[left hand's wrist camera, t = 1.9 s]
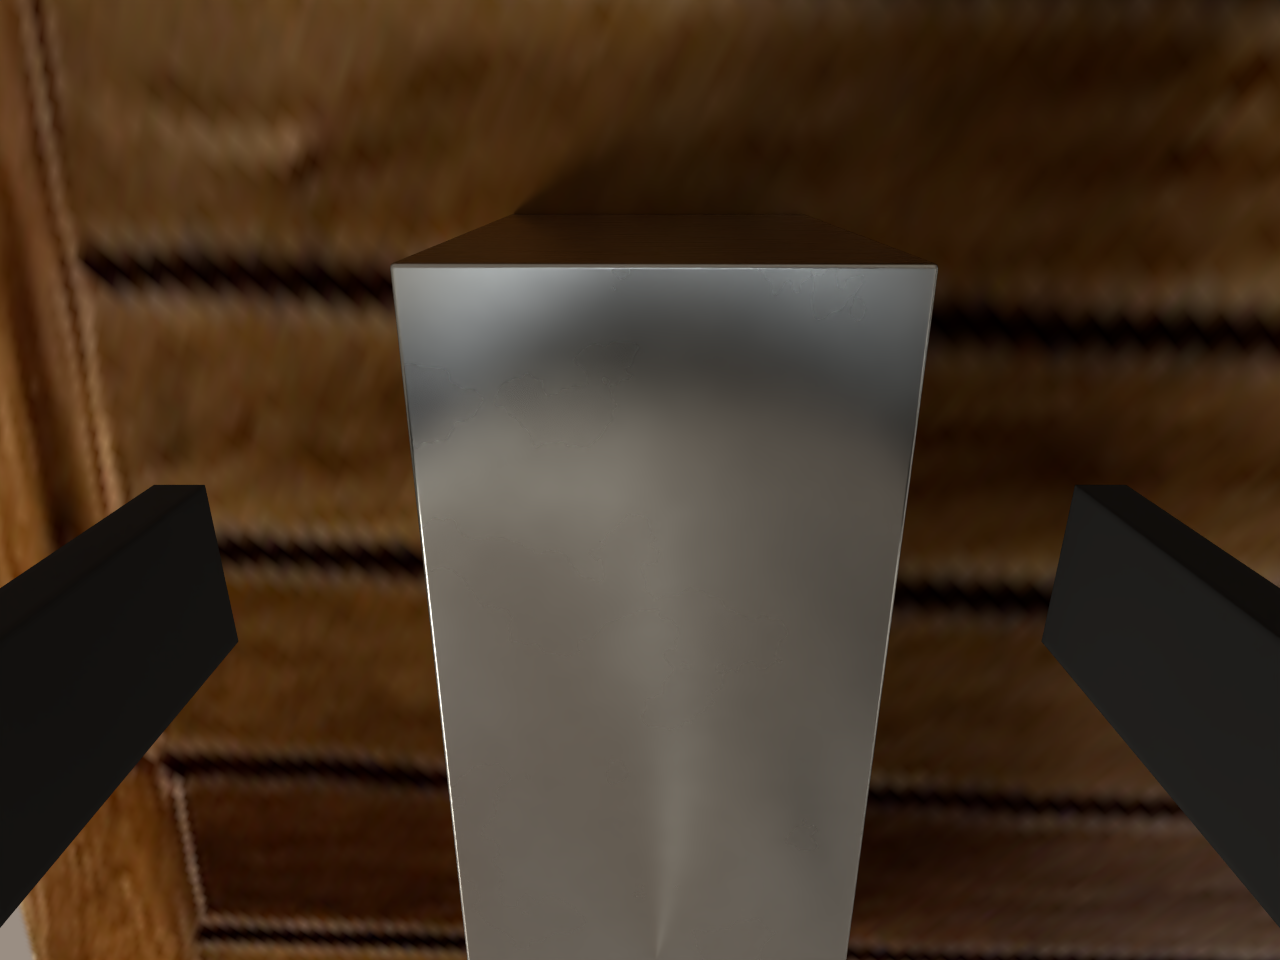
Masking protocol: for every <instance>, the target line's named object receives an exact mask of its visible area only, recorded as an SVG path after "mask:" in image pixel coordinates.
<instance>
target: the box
mask: <svg viewBox="0 0 1280 960" xmlns="http://www.w3.org/2000/svg"><path fill="white" fill-rule="evenodd" d="M390 270H391V279H392V288H393V297H394V306H395V315H396V323H397V332H398V341H399V350H400V359H401V368H402V377H403V386H404V395H405V404H406V413H407V422H408V431H409V440H410V449H411V458H412V467H413V476H414V485H415V494H416V503H417V512H418V521H419V530H420V539H421V547H422V556H423V565H424V574H425V583H426V592H427V601H428V610H429V619H430V628H431V637H432V646H433V655H434V664H435V673H436V682H437V691H438V700H439V709H440V718H441V727H442V736H443V745H444V754H445V763H446V771H447V780H448V789H449V798H450V807H451V816H452V825H453V834H454V843H455V852H456V861H457V870H458V879H459V888H460V897H461V906H462V915H463V924H464V933H465V942H466V951H467V960H846V957H847V949H848V942H849V934H850V927H851V919H852V912H853V904H854V897H855V889H856V882H857V874H858V867H859V859H860V852H861V844H862V837H863V829H864V822H865V814H866V807H867V799H868V792H869V784H870V777H871V769H872V762H873V754H874V747H875V739H876V732H877V724H878V717H879V709H880V702H881V694H882V687H883V679H884V672H885V664H886V657H887V649H888V642H889V634H890V627H891V619H892V612H893V604H894V597H895V589H896V582H897V574H898V567H899V559H900V552H901V544H902V537H903V529H904V522H905V514H906V507H907V499H908V492H909V484H910V477H911V469H912V462H913V454H914V447H915V439H916V432H917V424H918V417H919V409H920V402H921V394H922V387H923V379H924V372H925V364H926V357H927V349H928V342H929V334H930V327H931V319H932V312H933V304H934V297H935V289H936V282H937V274H938V266H937V264H934V263H932V262H929V261H927V260H924V259H921V258H919V257H916V256H913V255H911V254H908V253H905V252H903V251H900V250H897V249H895V248H892V247H889V246H887V245H884V244H881V243H879V242H876V241H873V240H871V239H868V238H865V237H863V236H860V235H857V234H855V233H852V232H849V231H847V230H844V229H841V228H839V227H836V226H833V225H831V224H828V223H825V222H823V221H820V220H817V219H815V218H812V217H809V216H807V215H738V214H512V215H509V216H507V217H504V218H502V219H499V220H497V221H495V222H492V223H490V224H487V225H485V226H482V227H480V228H477V229H475V230H473V231H470V232H468V233H465V234H463V235H460V236H458V237H455V238H453V239H451V240H448V241H446V242H443V243H441V244H438V245H436V246H433V247H431V248H429V249H426V250H424V251H421V252H419V253H416V254H414V255H412V256H409V257H407V258H404V259H402V260H399V261H397V262H394V263H392V264H391V267H390Z"/></svg>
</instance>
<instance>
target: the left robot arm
mask: <svg viewBox="0 0 1280 960" xmlns="http://www.w3.org/2000/svg"><path fill="white" fill-rule="evenodd" d="M237 642H238V637H237V633H236V628H235V624H234V619H233V614H232V610H231V605H230V600H229V596H228V591H227V586H226V582H225V577H224V572H223V568H222V563H221V558H220V554H219V549H218V544H217V540H216V535H215V530H214V526H213V521H212V516H211V512H210V507H209V502H208V498H207V493H206V488H205V485H153V486H152V487H150V488H149V489H147V490H146V491H144V492H143V493H141V494H140V495H138V496H137V497H135V498H134V499H132V500H131V501H129V502H128V503H126V504H125V505H123V506H122V507H120V508H119V509H117V510H116V511H115V512H113V513H112V514H110V515H109V516H107V517H106V518H104V519H103V520H101V521H100V522H98V523H97V524H95V525H94V526H92V527H91V528H89V529H88V530H86V531H85V532H83V533H82V534H80V535H79V536H77V537H76V538H74V539H73V540H71V541H70V542H68V543H67V544H65V545H64V546H62V547H61V548H59V549H58V550H56V551H55V552H53V553H52V554H50V555H49V556H48V557H46V558H45V559H43V560H42V561H40V562H39V563H37V564H36V565H34V566H33V567H31V568H30V569H28V570H27V571H25V572H24V573H22V574H21V575H19V576H18V577H16V578H15V579H13V580H12V581H10V582H9V583H7V584H6V585H4V586H3V587H1V588H0V927H1V926H2V925H3V924H4V923H5V921H6V920H7V919H8V918H9V917H10V915H11V914H12V913H13V912H14V911H15V909H16V908H17V907H18V906H19V905H20V903H21V902H22V901H23V900H24V899H25V897H26V896H27V895H28V894H29V892H30V891H31V890H32V889H33V888H34V886H35V885H36V884H37V883H38V882H39V880H40V879H41V878H42V877H43V876H44V874H45V873H46V872H47V871H48V870H49V868H50V867H51V866H52V865H53V864H54V862H55V861H56V860H57V859H58V858H59V856H60V855H61V854H62V853H63V852H64V850H65V849H66V848H67V847H68V846H69V844H70V843H71V842H72V841H73V840H74V838H75V837H76V836H77V835H78V834H79V832H80V831H81V830H82V829H83V828H84V826H85V825H86V824H87V823H88V822H89V820H90V819H91V818H92V817H93V816H94V814H95V813H96V812H97V811H98V810H99V808H100V807H101V806H102V805H103V804H104V802H105V801H106V800H107V799H108V798H109V796H110V795H111V794H112V793H113V791H114V790H115V789H116V788H117V787H118V785H119V784H120V783H121V782H122V781H123V779H124V778H125V777H126V776H127V775H128V773H129V772H130V771H131V770H132V769H133V767H134V766H135V765H136V764H137V763H138V761H139V760H140V759H141V758H142V757H143V755H144V754H145V753H146V752H147V751H148V749H149V748H150V747H151V746H152V745H153V743H154V742H155V741H156V740H157V739H158V737H159V736H160V735H161V734H162V733H163V731H164V730H165V729H166V728H167V727H168V725H169V724H170V723H171V722H172V721H173V719H174V718H175V717H176V716H177V715H178V713H179V712H180V711H181V710H182V709H183V707H184V706H185V705H186V704H187V703H188V701H189V700H190V699H191V698H192V697H193V695H194V694H195V693H196V692H197V690H198V689H199V688H200V687H201V686H202V684H203V683H204V682H205V681H206V680H207V678H208V677H209V676H210V675H211V674H212V672H213V671H214V670H215V669H216V668H217V666H218V665H219V664H220V663H221V662H222V660H223V659H224V658H225V657H226V656H227V654H228V653H229V652H230V651H231V650H232V648H233V647H234V646H235V645H236V644H237ZM1042 642H1043V644H1044V645H1045V646H1046V647H1047V648H1048V650H1049V651H1050V652H1051V653H1052V654H1053V656H1054V657H1055V658H1056V659H1057V660H1058V662H1059V663H1060V664H1061V665H1062V666H1063V668H1064V669H1065V670H1066V671H1067V672H1068V674H1069V675H1070V676H1071V677H1072V678H1073V680H1074V681H1075V682H1076V683H1077V684H1078V686H1079V687H1080V688H1081V689H1082V691H1083V692H1084V693H1085V694H1086V695H1087V697H1088V698H1089V699H1090V700H1091V701H1092V703H1093V704H1094V705H1095V706H1096V707H1097V709H1098V710H1099V711H1100V712H1101V713H1102V715H1103V716H1104V717H1105V718H1106V719H1107V721H1108V722H1109V723H1110V724H1111V725H1112V727H1113V728H1114V729H1115V730H1116V731H1117V733H1118V734H1119V735H1120V736H1121V737H1122V739H1123V740H1124V741H1125V742H1126V743H1127V745H1128V746H1129V747H1130V748H1131V749H1132V751H1133V752H1134V753H1135V754H1136V755H1137V757H1138V758H1139V759H1140V760H1141V761H1142V763H1143V764H1144V765H1145V766H1146V767H1147V769H1148V770H1149V771H1150V772H1151V773H1152V775H1153V776H1154V777H1155V778H1156V779H1157V781H1158V782H1159V783H1160V784H1161V785H1162V787H1163V788H1164V789H1165V790H1166V791H1167V793H1168V794H1169V795H1170V796H1171V798H1172V799H1173V800H1174V801H1175V802H1176V804H1177V805H1178V806H1179V807H1180V808H1181V810H1182V811H1183V812H1184V813H1185V814H1186V816H1187V817H1188V818H1189V819H1190V820H1191V822H1192V823H1193V824H1194V825H1195V826H1196V828H1197V829H1198V830H1199V831H1200V832H1201V834H1202V835H1203V836H1204V837H1205V838H1206V840H1207V841H1208V842H1209V843H1210V844H1211V846H1212V847H1213V848H1214V849H1215V850H1216V852H1217V853H1218V854H1219V855H1220V856H1221V858H1222V859H1223V860H1224V861H1225V862H1226V864H1227V865H1228V866H1229V867H1230V868H1231V870H1232V871H1233V872H1234V873H1235V874H1236V876H1237V877H1238V878H1239V879H1240V880H1241V882H1242V883H1243V884H1244V885H1245V886H1246V888H1247V889H1248V890H1249V891H1250V892H1251V894H1252V895H1253V896H1254V897H1255V899H1256V900H1257V901H1258V902H1259V903H1260V905H1261V906H1262V907H1263V908H1264V909H1265V911H1266V912H1267V913H1268V914H1269V915H1270V917H1271V918H1272V919H1273V920H1274V921H1275V923H1276V924H1277V925H1278V926H1279V927H1280V588H1279V587H1277V586H1276V585H1274V584H1273V583H1271V582H1270V581H1268V580H1267V579H1265V578H1264V577H1262V576H1261V575H1259V574H1258V573H1256V572H1255V571H1253V570H1252V569H1250V568H1249V567H1247V566H1246V565H1244V564H1243V563H1241V562H1240V561H1238V560H1237V559H1235V558H1234V557H1232V556H1231V555H1229V554H1228V553H1227V552H1225V551H1224V550H1222V549H1221V548H1219V547H1218V546H1216V545H1215V544H1213V543H1212V542H1210V541H1209V540H1207V539H1206V538H1204V537H1203V536H1201V535H1200V534H1198V533H1197V532H1195V531H1194V530H1192V529H1191V528H1189V527H1188V526H1186V525H1185V524H1183V523H1182V522H1180V521H1179V520H1177V519H1176V518H1174V517H1173V516H1171V515H1170V514H1168V513H1167V512H1165V511H1164V510H1163V509H1161V508H1160V507H1158V506H1157V505H1155V504H1154V503H1152V502H1151V501H1149V500H1148V499H1146V498H1145V497H1143V496H1142V495H1140V494H1139V493H1137V492H1136V491H1134V490H1133V489H1131V488H1130V487H1128V486H1127V485H1075V488H1074V493H1073V498H1072V502H1071V507H1070V512H1069V516H1068V521H1067V526H1066V530H1065V535H1064V540H1063V544H1062V549H1061V554H1060V558H1059V563H1058V568H1057V572H1056V577H1055V582H1054V586H1053V591H1052V596H1051V600H1050V605H1049V610H1048V614H1047V619H1046V623H1045V628H1044V633H1043V637H1042Z"/></svg>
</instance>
